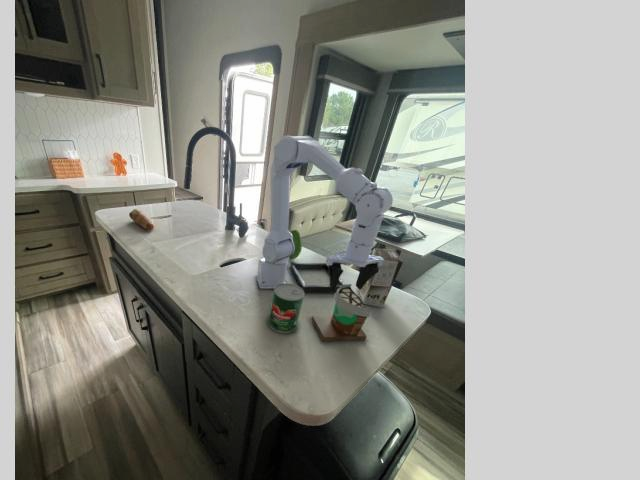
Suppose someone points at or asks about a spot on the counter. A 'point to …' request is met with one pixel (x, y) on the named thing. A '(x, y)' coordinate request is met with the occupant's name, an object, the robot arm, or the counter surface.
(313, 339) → the counter surface
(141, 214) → the bread
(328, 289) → the dark square tray
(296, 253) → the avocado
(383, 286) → the coffee box
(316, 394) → the counter surface
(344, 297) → the food container
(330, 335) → the cutting board
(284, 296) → the canned tomato
